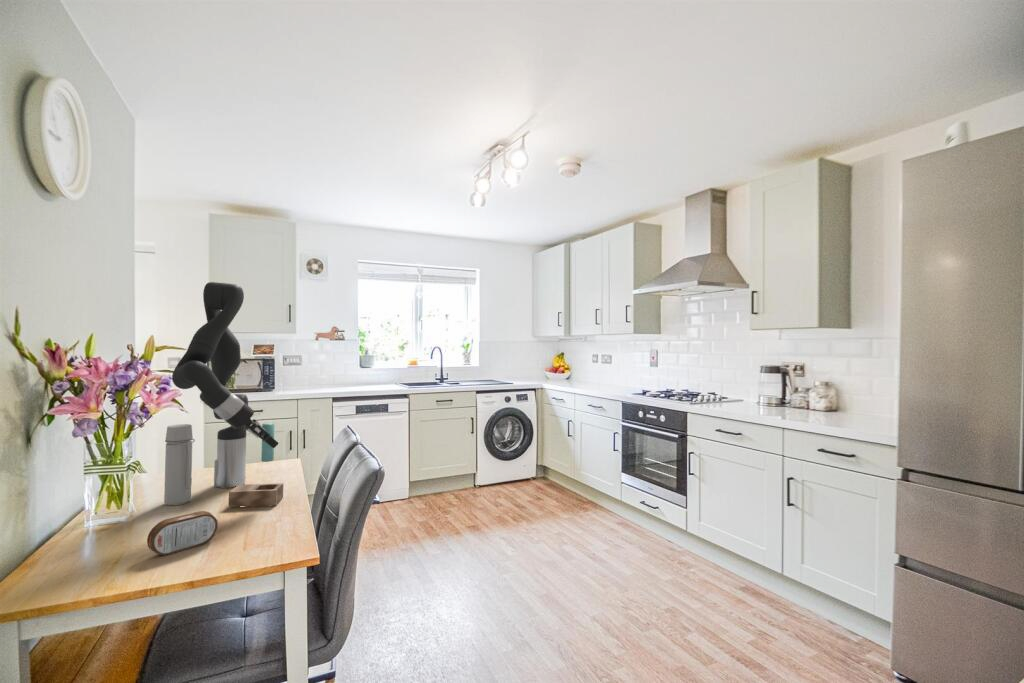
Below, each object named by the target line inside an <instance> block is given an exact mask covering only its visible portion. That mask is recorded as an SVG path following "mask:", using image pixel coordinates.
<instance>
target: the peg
mask: <svg viewBox="0 0 1024 683" xmlns="http://www.w3.org/2000/svg"><path fill="white" fill-rule="evenodd" d="M261 426H262V427H263V428H265V429H266V432H267V433H268V434H270V436H271V437H272V438H273V439H275V426H276V425H275V423H274V422H266V423H262V424H261ZM265 435H266V434H265V433H264V434H263V435H262V438H263V437H264V436H265ZM274 455H275V448H272V447H271V446H270V445H269V444H268V443H266V442H265V441H263V440H262V439H261V458H260V459H261V462H263V463H264V462H265V463H269V462H273V461H274V460H275V459H274V458H275V456H274Z"/></svg>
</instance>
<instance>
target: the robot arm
mask: <svg viewBox="0 0 1024 683" xmlns="http://www.w3.org/2000/svg"><path fill="white" fill-rule="evenodd" d="M202 294H203V296H202V298H203V307H204V311H205V316H206V323H204V324H203V325H202V326H201V327H200V328H198V329H197V330H196V331H195V333H194V334H193V337H192V338H191V341H190V342H189V345H188V347H187V349H186V352H185V353H184V355H182V357H181V358H180V360H179V362H178V363H177V364H176V366H175V367H174V370H173V371H172V376H171V377H172V378H171V379H172V383H173V385H174V386H175V387H176V388H178V389H181V390H189V389H191V388H194V387H197V389H198V390H199V391H200V394H199V398H200V401H202V402H203V403H204V404H205V405H206V406H208V407H209V408H210V409H211V410H213V411H212V412H213V417H215V419H217V420H222V421H223V420H224V422H226V423H227V424H228V425H230V426H228V427H224V428H221V429H219V430H218V431H217V435H216V436H217V439H216V440H217V443H216V445H217V446H216V447H217V448H216V459H215V460H214V464H213V465H214V469H213V488H220V487H222V488H221V489H223V488H224V489H225V487H226V488H227V487H229V488H235V486H238V485H245V484H244V483H246V470H247V469H246V467H247V464H246V461H247V460H246V458H247V432H248V433H251V434H252V435H254V436H255V438H259V439H261V441H262V440H263V441H265V442H266V443H268V444H269V445H270V446H271V447H272V448H274V449H275V448H276V447H277V446H278V445H279V442H278V441H277V440H275V438H274V439H273V438H272V437H271V436H270V434H268V433H267V432H266V429H265V428H263V427H262V424H260V422H259V421H258V420H256V419H255V418H253V419H251V418H252V417H253V416H254V414H255V411H254V409H253V408H252V407H250V406H249V399H248V398H249V397H248V396H247V395H246V394H244V393H240V394H239V393H232V392H231V391H230V390H229V389H228V388H227V387H226V385H228V382H229V380H230V379H231V378H232V376H233V375H234V373H235V372H236V371H237V370H238V368H239V366H240V364H241V360H242V358H241V346H240V342H239V340H238V338H237V337H236V336H235V335H234V333H233V332H232V331H231V329H230V328H229V326H230V325H231V324H232V322H233V320H234V319H235V317H236V316H237V314H238V312H239V311H240V309H241V308H242V306H243V303H244V297H245V294H244V290H243V288H242V287H241V285H238V284H235V283H227V282H215V281H209V282H207V283H206V284H205V285H204V288H203V292H202ZM208 362H210V364H211V367H209V365H208V364H207V363H208ZM264 433H265V434H266V435H265V436H264V437H263V438H262V435H263V434H264Z"/></svg>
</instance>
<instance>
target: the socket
mask: <svg viewBox="0 0 1024 683" xmlns="http://www.w3.org/2000/svg"><path fill="white" fill-rule="evenodd" d="M282 498H283V499H284V483H283V482H282V483H256V484H255V483H253V484H243V485H238V486H236V487H233V488H232V489H231V490H230V491H229V492H228V507H239V508H241V507H240V506H263V507H270V506H269V505H272V506H271V507H276V506H277V505H279V504H280V502H281V501H282V500H283V499H282ZM273 505H274V506H273ZM275 505H276V506H275Z"/></svg>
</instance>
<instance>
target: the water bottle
mask: <svg viewBox="0 0 1024 683" xmlns="http://www.w3.org/2000/svg"><path fill="white" fill-rule="evenodd" d="M192 425H193V424H189V423H188V424H187V423H181V424H171V425H168V426H167V427H166V432H165V440H164V442H165V454H164V455H165V456H164V457H165V461H164V463H165V464H164V495H163V496H164V498H163V502H164V504H165V505H166V506H170V505H175V506H181V505H184V503H185V504H187V503H188V502H190V500H191V498H192V483H193V481H192V479H193V478H192V475H193V474H192V469H193V468H192V466H193V464H192V463H193V443H194V442H195V441H196V439H194V438H193V426H192ZM180 504H181V505H180Z"/></svg>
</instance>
